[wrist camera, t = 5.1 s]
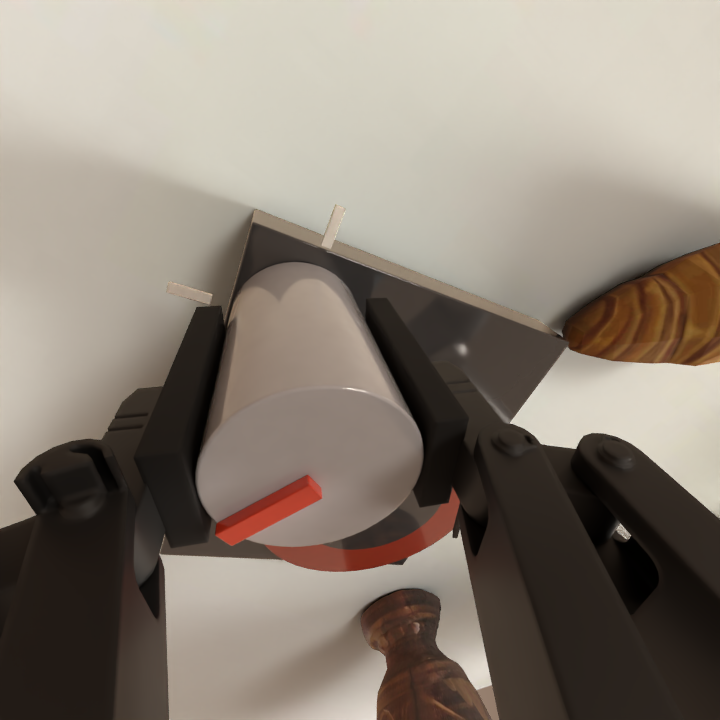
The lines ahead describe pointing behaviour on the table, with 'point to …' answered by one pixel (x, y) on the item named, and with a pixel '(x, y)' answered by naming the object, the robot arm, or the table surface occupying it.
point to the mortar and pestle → (417, 662)
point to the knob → (303, 417)
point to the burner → (379, 539)
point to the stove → (419, 313)
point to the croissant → (656, 315)
